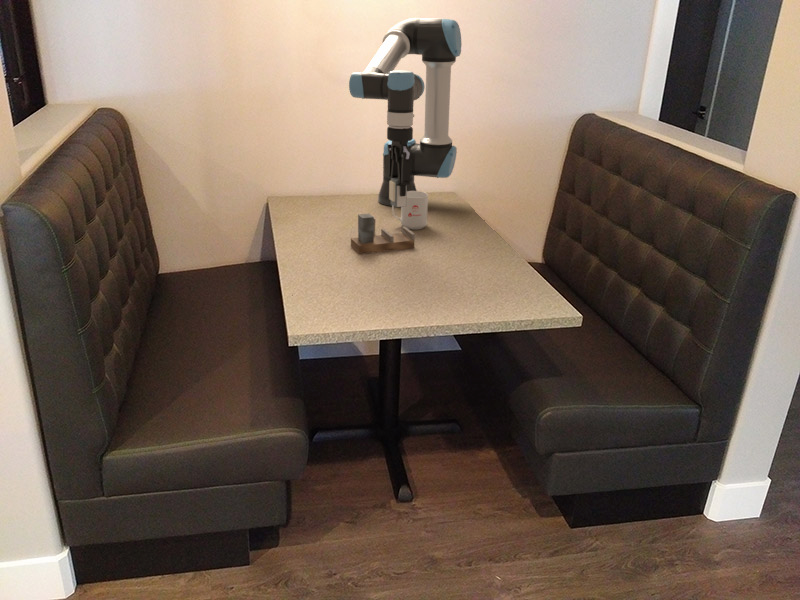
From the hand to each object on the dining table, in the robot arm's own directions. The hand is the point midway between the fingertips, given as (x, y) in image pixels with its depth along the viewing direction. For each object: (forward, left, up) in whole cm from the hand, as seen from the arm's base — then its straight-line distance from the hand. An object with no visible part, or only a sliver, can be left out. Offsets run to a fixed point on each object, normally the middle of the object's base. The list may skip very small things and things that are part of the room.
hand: (398, 203), depth 216 cm
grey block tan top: (0, 0, 0) cm, 0 cm away
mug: (-11, -17, -14) cm, 24 cm away
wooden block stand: (+5, 0, -13) cm, 14 cm away
